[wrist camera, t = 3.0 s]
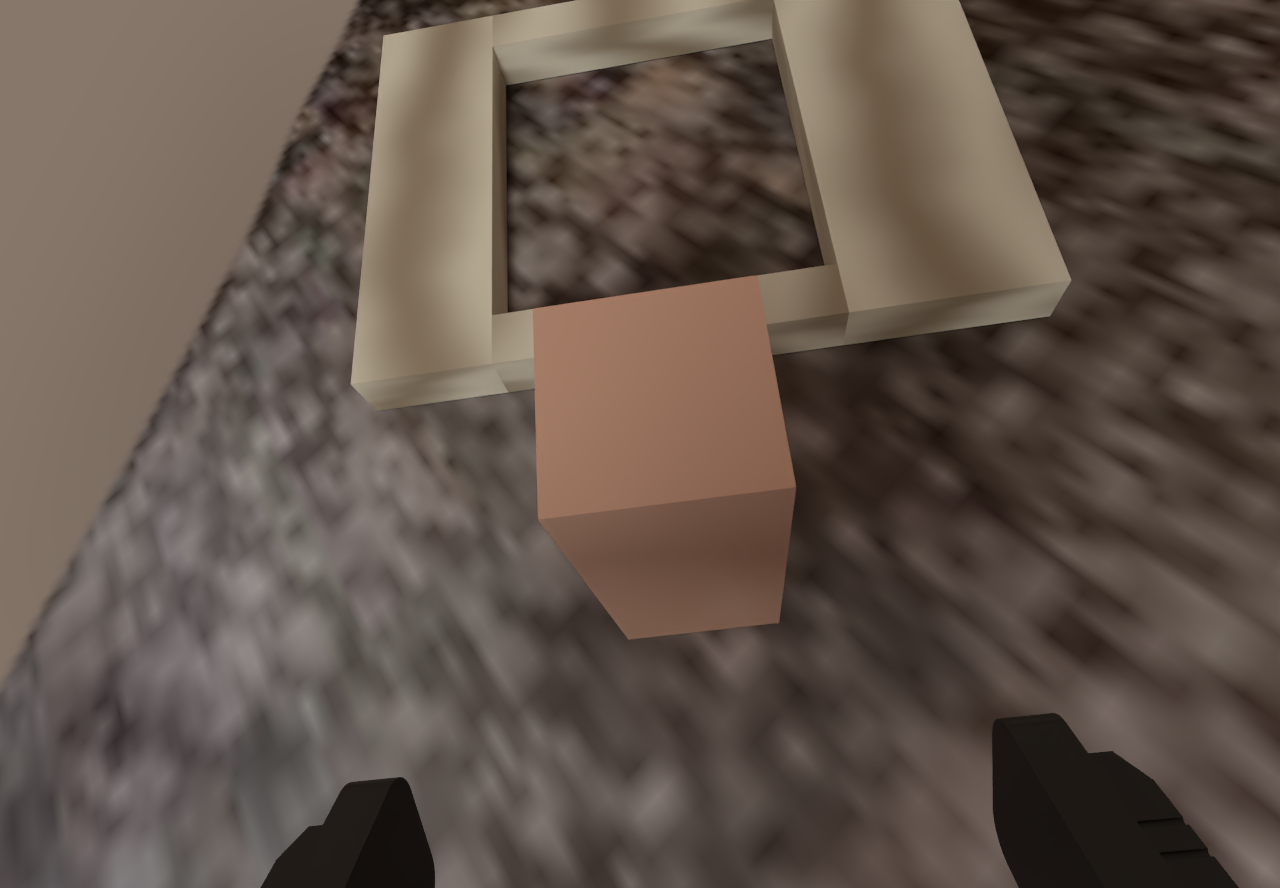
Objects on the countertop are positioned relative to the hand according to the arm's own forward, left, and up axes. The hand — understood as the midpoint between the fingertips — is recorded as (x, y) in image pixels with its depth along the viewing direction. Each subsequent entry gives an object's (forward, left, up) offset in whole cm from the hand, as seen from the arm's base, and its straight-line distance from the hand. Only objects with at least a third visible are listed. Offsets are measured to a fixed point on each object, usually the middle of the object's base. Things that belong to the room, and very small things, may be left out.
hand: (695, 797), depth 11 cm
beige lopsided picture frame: (-1, -23, -12) cm, 26 cm away
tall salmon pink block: (0, -7, -12) cm, 14 cm away
